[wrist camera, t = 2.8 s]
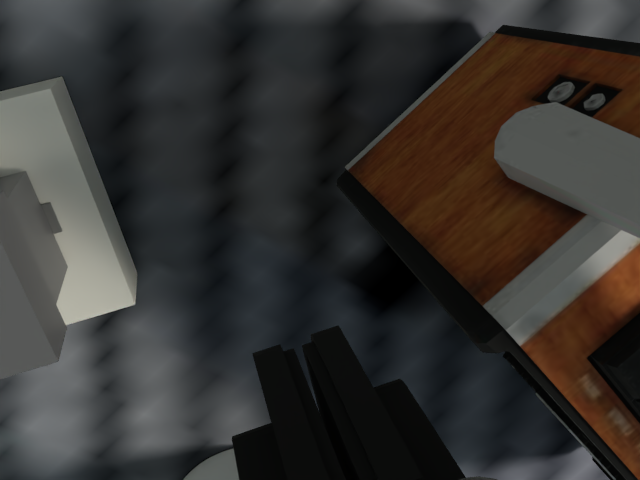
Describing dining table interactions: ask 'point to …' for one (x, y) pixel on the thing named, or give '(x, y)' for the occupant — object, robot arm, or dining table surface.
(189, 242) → the dining table surface
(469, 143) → the radio cassette player
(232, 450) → the candle holder
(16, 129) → the fader console
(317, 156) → the dining table surface
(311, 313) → the dining table surface
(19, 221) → the fader knob
